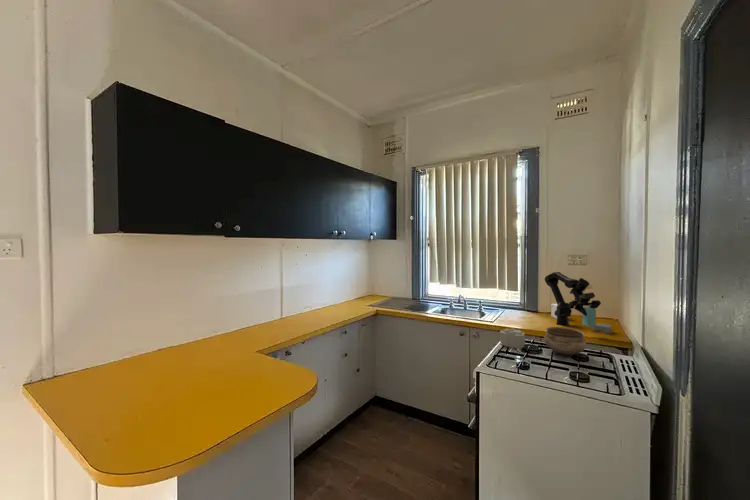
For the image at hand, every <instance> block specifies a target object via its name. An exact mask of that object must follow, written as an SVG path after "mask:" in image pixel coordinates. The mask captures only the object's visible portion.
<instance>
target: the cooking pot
mask: <svg viewBox="0 0 750 500" xmlns="http://www.w3.org/2000/svg"><path fill="white" fill-rule="evenodd" d="M545 330H546V332H545V334H544V338H543V339H544V342H545V345H546V346H547V347H548V348H549V349H550V350H552V351H553V352H555V353H556V354H558V355H560V356H565V357H571V356H575V355H578V354H581V353H582V352H583V351H584V350H585V349H586V347H587V341H586V339H585V336H584V335H585V332H584V331H582V330H579V329H576V328H571V327H566V326H565V327H564V326H550V327H549V326H548V327H545Z"/></svg>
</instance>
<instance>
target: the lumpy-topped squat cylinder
mask: <svg viewBox="0 0 750 500" xmlns="http://www.w3.org/2000/svg"><path fill="white" fill-rule="evenodd" d="M525 334H526V333H525V332H523V331H522V330H520V329H516V328H505V329H501V330H500V331H499V343H500V342H501V343H502V344H503V345H502V344H501V345H502V346H505V347H508V348H514V349H524V348H525V346H526V345H525V344H526V342H525V341H526V335H525ZM524 345H525V346H524ZM523 347H524V348H523Z"/></svg>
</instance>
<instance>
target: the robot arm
mask: <svg viewBox="0 0 750 500" xmlns="http://www.w3.org/2000/svg"><path fill="white" fill-rule="evenodd" d="M559 281H560V282H561V283H564V286H565V287H566V288H568V289H570V291H569V294H570V295H571V294H572V295H573V297H574V300H570V301H569V302H566V301H565V300H564V297H563V295H562V293H561V292H562V291H561V290H560V288H559ZM544 282H545V283H546V285H547V286H548V287H550V289H551V292H552V294H553V297H554V299H555V302H556V304H557V310H556V311H555V315H556V316H557V319H556V323H555V324H556V325H559V326H563V327H564V326H565V327H566V326H568V325H570V318H569V317H571V316H572V309H574V310H576V311H578V312H580V313H581V315H583V314H584V315H585V316H587V314H586V312H585V310H584V308H583V307H590V308H594V309H597V308H599V306H600V305H601V304H602V302H601V301H600V300H598V299H597V300H596V299H595V300H594V298H595V297H596V294H595V293H594V292H588V293H587V292H585V291H586V289H587V288H588V287H589V286H590V282H589V281H588V280H585V278H582V277H581V278H579V279H575V278H571V277H568V276H567V275H565V274H563V273H561V272H559V271H554V272H552V273H550V274H548V275H546V276H545V277H544ZM584 292H585V293H584ZM591 299H592V301H591ZM590 301H591V302H590Z"/></svg>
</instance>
